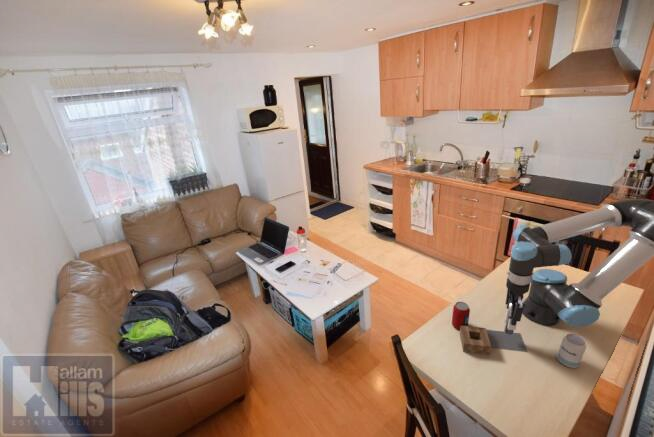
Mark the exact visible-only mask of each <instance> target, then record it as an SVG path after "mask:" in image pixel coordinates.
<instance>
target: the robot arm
mask: <svg viewBox="0 0 654 437" xmlns="http://www.w3.org/2000/svg"><path fill="white" fill-rule="evenodd" d="M609 227H610V228H619V227H629V228H631V229H630V230H629V238H628V239H627V240H625V241H624V242H623V243H622V244H621V245H620V246H619V247H617V248H616V249H614V251H613V252H611V254H609V255H608V256H607V257H606V258H605V259H604V260H603V261H602V262H600V263H599V264H598V265H597V266H596V267H595V268H593V269H592V270H591V271H590V272H589V273H588V274H587V275H586V276H584V277H583V278H582V279H581V280H580V281H578V282H577V283H575V282H571V283H570V284H569V285H568V284H567V282H568V277H567V275H566V274H565V273H563V272H561V271H559V270H556V269H551V268H547V267H559V266H562V265H563V266H564V265H568V264H569V263H570V262H571V260H572V252H571V249H570V248H569V247H568V246H567V245H565V244H561V243H559V244H558V243H556V244H553V243H555V242H558V241H559V242H560V241H563V240H565V239H569V238H573V237H576V236H579V235H580V236H581V235H583V234H587V233H590V232H594V231H598V230H601V229H605V228H609ZM512 238H513V239H514V241H515V243H514V244H513V245H512V249H511V252H510V259H509V260H510V261H509V267H508V271H507V272H506V274H507V278H506V282H505V283H506V284H505V287H506V288H507V291H506V299H505V305H506V313H505V319H504V323H505V324H506V319H507V314H508V308H509V303H510V302H511V303H512V310H511V316H509V322H508V330H514V331H516V329H517V324H518V322H521V321H522V316H523V317H525V318H526V319H527V320H529V321H531V322H532V323H535V324H537V325H541V326H546V327H552V326H556V325H558V324H559V323H560V321H561V320H562V321H563V322H564V323H565V324H566V325H568V326H570V327H572V328H584V327H588V326H591V325H592V324H595V323H596V322H597V321H598V320H599V319H600V316H601V313H600V310H599V309H600V308H601V307H602V306H603V301H602V300H603V299H604V298H605V297H607V295H609V294H610V293H611V292H613V291H614V290H615V289H616V288H618V286H620V285H621V284H622V283H623V282H624V281H626V280H627V279H629V277H630V276H632V275H633V274H634V273H635V272H636V271H637V270H639V269H640V268H641V267H643V265H645V264H646V263H647V262H648V261H650V260H651V259H652V258H654V200H653V199H652V200H651V199H648V198H647V199H646V198H630V199H625V200H618V201H612V202H610V203H609V202H608V203H606V204H603V205H602V206H601V207H600V208H598V209H594V210H592V211H591V210H590V211H588V212H584V213H580V214H576V215H574V216H570V217H566V218H563V219H560V220H557V221H552V222H549V223H546V224H545V223H544V224H542V225H538V226H536V227H530V226H528V225H521V226H518V227H516V228H515V229H514V231H513V233H512ZM545 267H546V268H545ZM536 268H539V269H537V270H535V271H534V269H536ZM540 268H542V269H540ZM533 272H534V273H533ZM527 293H528V295H527V297H526V298H525V299H524V295H525V294H527Z"/></svg>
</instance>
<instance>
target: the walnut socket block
mask: <svg viewBox="0 0 654 437" xmlns="http://www.w3.org/2000/svg"><path fill="white" fill-rule="evenodd" d="M486 330H487V328H486V327H478V326H469V325H468V326H460V330H459V337H460V342H461V348H462V352H463V353H469V354H470V353H471V354H479V355H486V356H490V355H491V354H490V353H491V349H492V348H491V345H490V341H489V338H488V334H487V331H486Z"/></svg>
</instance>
